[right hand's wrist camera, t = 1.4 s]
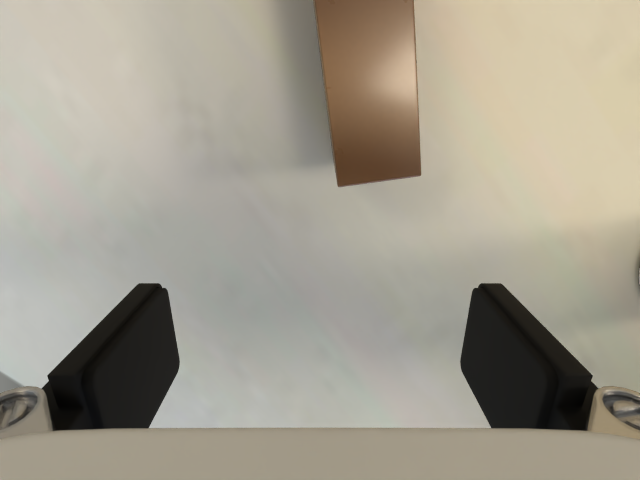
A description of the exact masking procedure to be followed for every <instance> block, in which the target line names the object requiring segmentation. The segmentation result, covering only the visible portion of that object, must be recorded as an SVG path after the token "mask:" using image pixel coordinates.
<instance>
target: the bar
mask: <svg viewBox="0 0 640 480" xmlns="http://www.w3.org/2000/svg"><path fill="white" fill-rule="evenodd" d="M313 3H314V11H315V19H316V27H317V35H318V43H319V50H320V58H321V66H322V74H323V82H324V89H325V97H326V105H327V113H328V121H329V129H330V136H331V144H332V152H333V160H334V166H335V172H336V179H337V185H338V187H344V186H352V185H359V184H366V183H373V182H381V181H388V180H395V179H402V178H410V177H417V176H421V158H420V135H419V112H418V89H417V66H416V43H415V20H414V0H313Z"/></svg>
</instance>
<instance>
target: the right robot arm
mask: <svg viewBox="0 0 640 480" xmlns="http://www.w3.org/2000/svg"><path fill="white" fill-rule="evenodd" d="M639 283H640V270H639ZM179 363H180V361H179V354H178V348H177V343H176V337H175V331H174V325H173V319H172V313H171V307H170V302H169V296H168V291H167V289H166V288H162V286H161V285H160V284H159V283H141V284H138V285H137V286H136V287H135V288H134V289H133V290H132V291H131V292H130V293H129V294H128V295H127V296H126V297H125V298H124V299H123V300H122V301H121V302H120V303H119V304H118V305H117V306H116V307H115V308H114V309H113V310H112V311H111V312H110V313H109V314H108V315H107V316H106V317H105V318H104V319H103V320H102V321H101V322H100V323H99V324H98V325H97V326H96V327H95V328H94V329H93V330H92V331H91V332H90V333H89V334H88V335H87V336H86V337H85V338H84V339H83V340H82V341H81V342H80V343H79V344H78V345H77V346H76V347H75V348H74V349H73V350H72V351H71V352H70V353H69V354H68V355H67V356H66V357H65V358H64V359H63V360H62V361H61V362H60V363H59V364H58V365H57V366H56V367H55V368H54V369H53V370H52V372H51V373H50V374H49V375H48V379H49V382H48V383H47V384H46V385H45V386H44V387H43V388H42V389H41V388H38V387H32V386H26V387H19V388H14V389H11V390H8V391H4V392H2V393H0V480H640V393H638V392H636V391H632V390H629V389H626V388H621V387H614V386H608V387H602V388H599V389H598V388H597V387H596V386H595V385H594V384H593V383H592V382H591V379H592V375H591V374H590V373H589V372H588V370H587V369H586V368H585V367H584V366H583V365H582V364H581V363H580V362H579V361H578V360H577V359H576V358H575V357H574V356H573V355H572V354H571V353H570V352H569V351H568V350H567V349H566V348H565V347H564V346H563V345H562V344H561V343H560V342H559V341H558V340H557V339H556V338H555V337H554V336H553V335H552V334H551V333H550V332H549V331H548V330H547V329H546V328H545V327H544V326H543V325H542V324H541V323H540V322H539V321H538V320H537V319H536V318H535V317H534V316H533V315H532V314H531V313H530V312H529V311H528V310H527V309H526V308H525V307H524V306H523V305H522V304H521V303H520V302H519V301H518V300H517V299H516V298H515V297H514V296H513V295H512V294H511V293H510V292H509V291H508V290H507V289H506V288H505V287H504V286H503V285H502V284H499V283H481V284H480V285H479V286H478V288H474V289H473V291H472V296H471V302H470V307H469V313H468V319H467V325H466V331H465V337H464V343H463V348H462V354H461V361H460V363H461V370H462V372H463V374H464V376H465V378H466V380H467V382H468V384H469V386H470V388H471V390H472V392H473V394H474V395H475V397H476V399H477V401H478V403H479V405H480V407H481V409H482V411H483V413H484V415H485V416H486V418H487V420H488V422H489V424H490V426H491V428H149V426H150V424H151V422H152V420H153V418H154V416H155V415H156V413H157V411H158V409H159V407H160V405H161V403H162V401H163V399H164V397H165V395H166V394H167V392H168V390H169V388H170V386H171V384H172V382H173V380H174V378H175V376H176V374H177V372H178V370H179Z"/></svg>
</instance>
